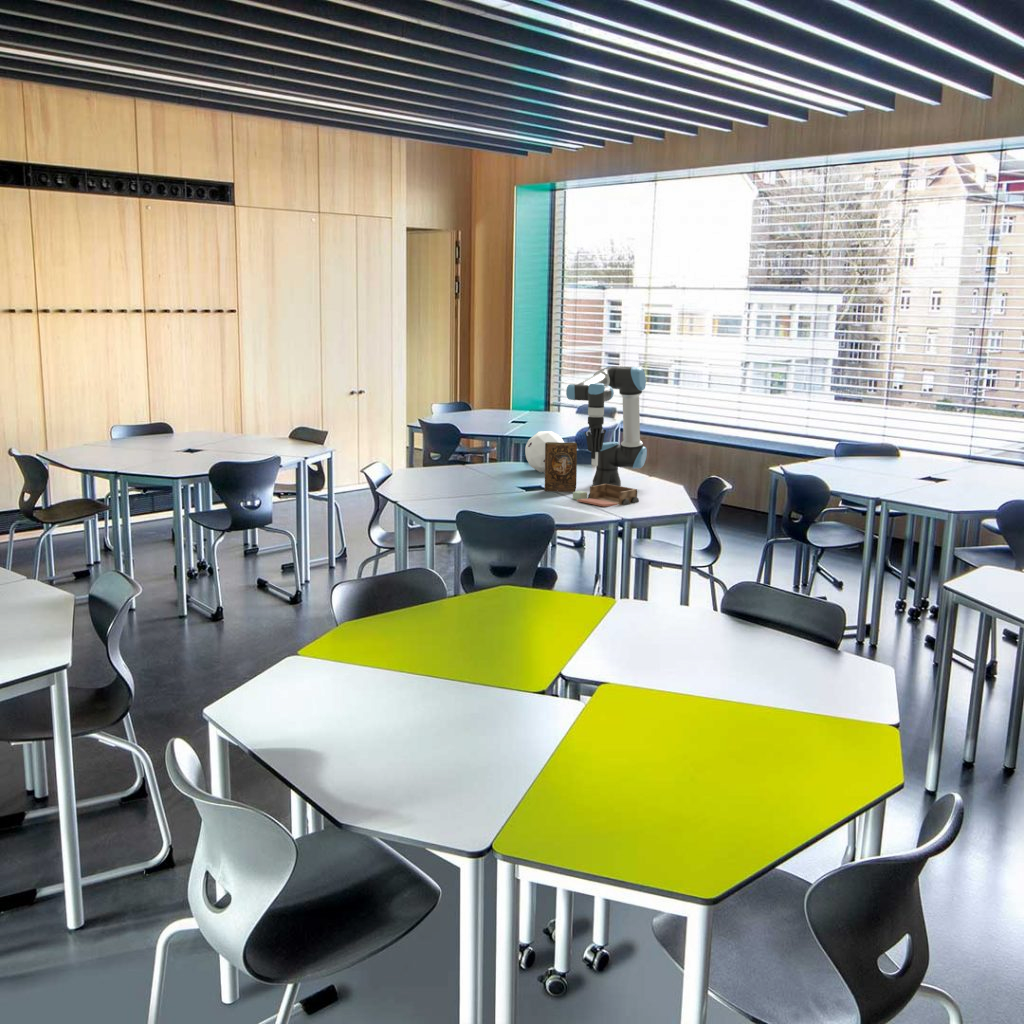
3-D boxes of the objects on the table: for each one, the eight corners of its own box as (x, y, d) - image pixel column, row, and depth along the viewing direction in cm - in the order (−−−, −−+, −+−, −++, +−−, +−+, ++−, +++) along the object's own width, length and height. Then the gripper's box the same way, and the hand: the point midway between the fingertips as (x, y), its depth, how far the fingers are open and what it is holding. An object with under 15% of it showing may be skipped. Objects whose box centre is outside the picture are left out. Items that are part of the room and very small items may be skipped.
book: (544, 491, 513) (544, 443, 508) (544, 489, 518) (545, 442, 513) (575, 492, 511) (576, 444, 506) (576, 490, 517) (577, 442, 511)
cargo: (579, 500, 492) (579, 490, 491) (587, 502, 488) (587, 492, 487) (572, 501, 488) (572, 492, 487) (580, 503, 485) (580, 493, 484)
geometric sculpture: (543, 466, 588) (568, 434, 581) (555, 488, 568) (581, 455, 561) (511, 448, 576) (536, 415, 568) (522, 469, 556) (548, 436, 548)
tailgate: (590, 498, 487) (577, 499, 480) (617, 503, 475) (604, 504, 468) (590, 500, 487) (577, 501, 480) (617, 506, 475) (603, 507, 468)
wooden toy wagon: (603, 497, 498) (603, 483, 497) (639, 504, 482) (639, 489, 480) (587, 501, 490) (587, 486, 488) (623, 508, 474) (624, 492, 472)
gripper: (598, 414, 474) (597, 462, 479) (580, 416, 465) (579, 465, 470) (610, 415, 468) (609, 464, 473) (592, 418, 459) (591, 467, 465)
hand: (594, 465), depth 472 cm, fingers closed
